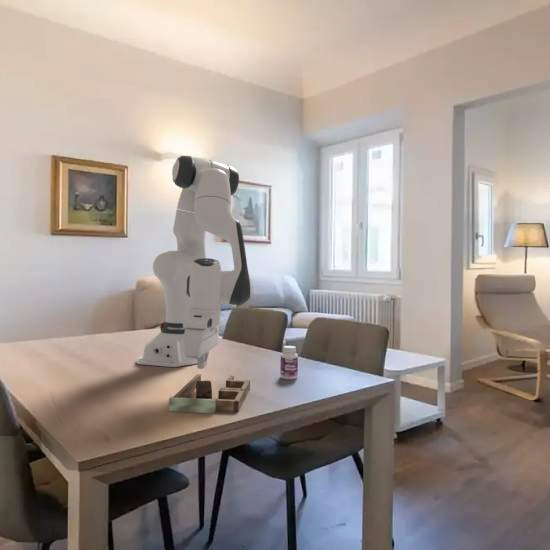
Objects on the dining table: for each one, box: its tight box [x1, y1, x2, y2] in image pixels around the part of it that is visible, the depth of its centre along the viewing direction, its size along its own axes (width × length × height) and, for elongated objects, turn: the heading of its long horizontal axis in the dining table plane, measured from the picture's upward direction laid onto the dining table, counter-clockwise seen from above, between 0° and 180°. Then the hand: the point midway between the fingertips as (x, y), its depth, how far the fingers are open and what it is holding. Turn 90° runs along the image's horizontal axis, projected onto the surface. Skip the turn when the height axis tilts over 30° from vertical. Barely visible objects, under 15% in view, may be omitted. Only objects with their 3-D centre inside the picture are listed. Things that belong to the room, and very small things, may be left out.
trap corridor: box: [168, 373, 251, 414], centre depth 123 cm, size 16×26×3 cm, turn 175°
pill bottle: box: [279, 345, 299, 380], centre depth 144 cm, size 5×5×10 cm
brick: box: [195, 380, 213, 399], centre depth 117 cm, size 11×4×5 cm, turn 9°
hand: (201, 367), depth 128 cm, fingers closed
